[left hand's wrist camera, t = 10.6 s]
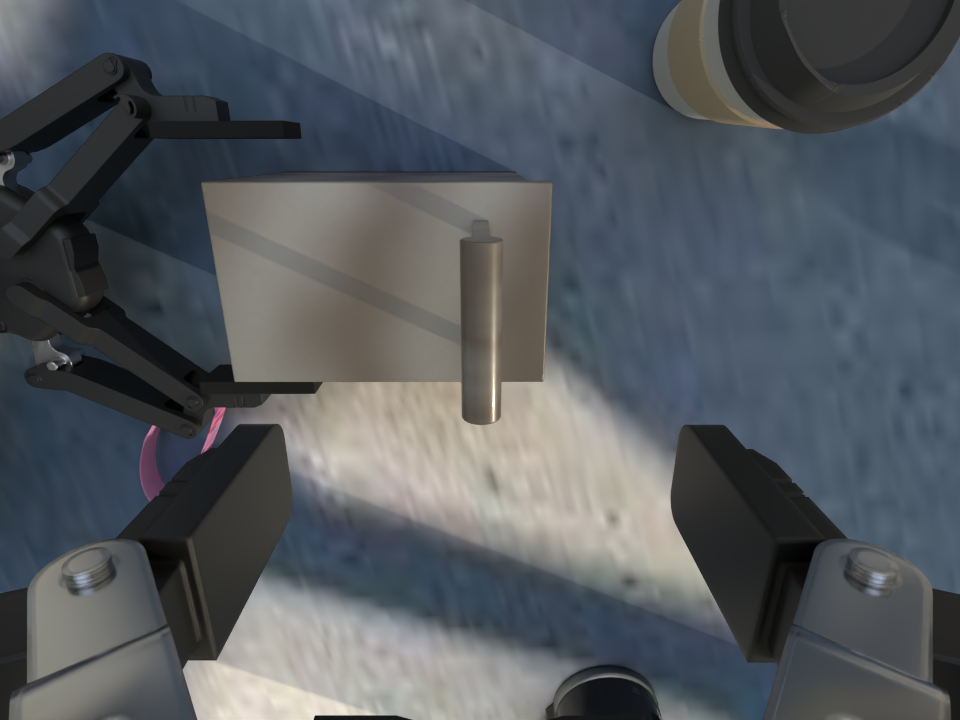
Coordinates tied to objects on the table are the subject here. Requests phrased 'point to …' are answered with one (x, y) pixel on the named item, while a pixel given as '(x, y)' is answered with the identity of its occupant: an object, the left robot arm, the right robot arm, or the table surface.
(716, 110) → the coffee cup
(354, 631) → the table surface
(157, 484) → the headband
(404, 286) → the lid
